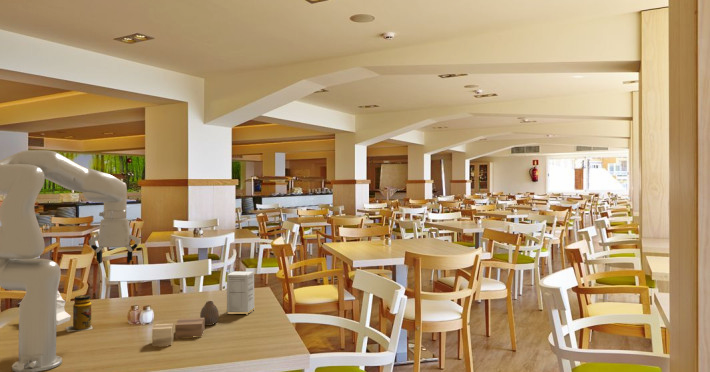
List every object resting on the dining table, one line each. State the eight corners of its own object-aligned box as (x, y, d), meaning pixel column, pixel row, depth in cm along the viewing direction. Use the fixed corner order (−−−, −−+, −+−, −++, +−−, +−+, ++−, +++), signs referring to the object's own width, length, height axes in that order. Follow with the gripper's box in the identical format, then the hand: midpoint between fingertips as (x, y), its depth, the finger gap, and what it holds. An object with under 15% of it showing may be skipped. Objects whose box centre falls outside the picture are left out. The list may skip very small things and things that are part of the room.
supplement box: (254, 310, 226) (255, 271, 226) (248, 315, 216) (248, 274, 216) (233, 309, 227) (233, 270, 227) (225, 314, 217) (226, 274, 217)
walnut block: (201, 338, 185) (201, 323, 185) (175, 339, 183) (175, 324, 183) (204, 331, 193) (204, 317, 193) (179, 331, 192) (179, 318, 192)
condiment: (93, 329, 194) (93, 296, 194) (67, 332, 189) (67, 299, 189) (90, 324, 200) (91, 293, 200) (65, 327, 195) (66, 295, 196)
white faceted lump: (53, 320, 212) (64, 285, 215) (72, 329, 204) (83, 293, 206) (21, 318, 202) (33, 282, 204) (39, 328, 194) (51, 290, 196)
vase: (196, 325, 201) (196, 302, 201) (209, 321, 207) (209, 298, 207) (209, 327, 198) (209, 304, 198) (222, 323, 204) (222, 300, 204)
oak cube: (171, 346, 174) (171, 328, 174) (152, 347, 173) (152, 329, 173) (173, 340, 180) (173, 323, 180) (155, 341, 179) (155, 324, 179)
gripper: (86, 216, 183) (85, 265, 183) (139, 216, 188) (138, 263, 188) (91, 215, 191) (90, 262, 190) (142, 214, 195) (141, 260, 195)
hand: (114, 262), depth 189 cm, fingers open, 9 cm apart
